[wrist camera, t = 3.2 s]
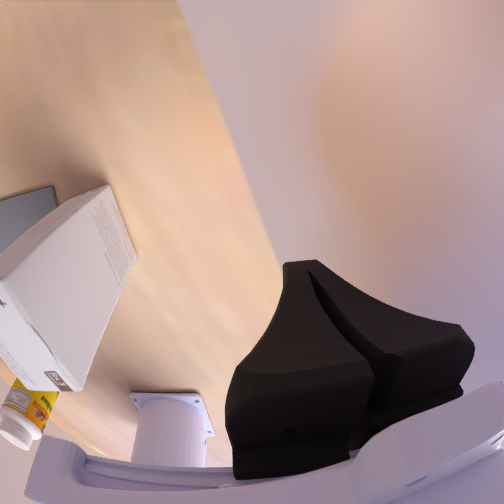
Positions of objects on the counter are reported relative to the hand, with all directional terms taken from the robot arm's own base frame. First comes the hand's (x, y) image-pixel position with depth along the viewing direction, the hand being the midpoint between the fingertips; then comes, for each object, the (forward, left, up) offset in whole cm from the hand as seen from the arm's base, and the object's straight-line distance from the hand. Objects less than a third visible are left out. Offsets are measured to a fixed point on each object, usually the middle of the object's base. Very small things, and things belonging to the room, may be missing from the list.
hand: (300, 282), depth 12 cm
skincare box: (0, +12, -9) cm, 15 cm away
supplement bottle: (-17, +28, -9) cm, 34 cm away
